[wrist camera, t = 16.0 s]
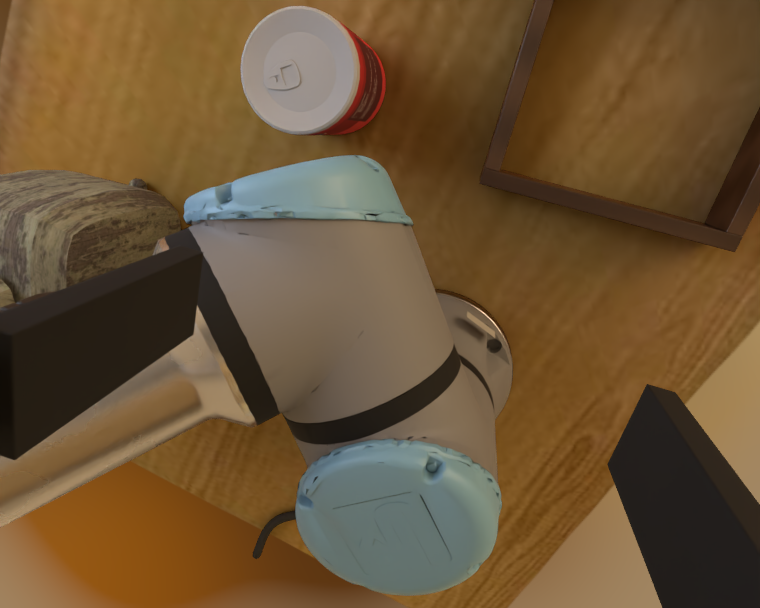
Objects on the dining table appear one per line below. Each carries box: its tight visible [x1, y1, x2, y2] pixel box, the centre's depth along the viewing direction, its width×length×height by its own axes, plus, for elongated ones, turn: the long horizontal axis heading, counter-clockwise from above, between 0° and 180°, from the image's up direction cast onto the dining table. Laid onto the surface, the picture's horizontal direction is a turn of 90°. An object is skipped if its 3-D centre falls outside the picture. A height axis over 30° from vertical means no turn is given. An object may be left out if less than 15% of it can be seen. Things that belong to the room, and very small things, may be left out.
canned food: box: [241, 6, 386, 135], centre depth 38 cm, size 8×8×11 cm
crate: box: [480, 0, 760, 252], centre depth 37 cm, size 19×19×4 cm
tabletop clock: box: [0, 170, 181, 309], centre depth 39 cm, size 14×9×25 cm, turn 168°
